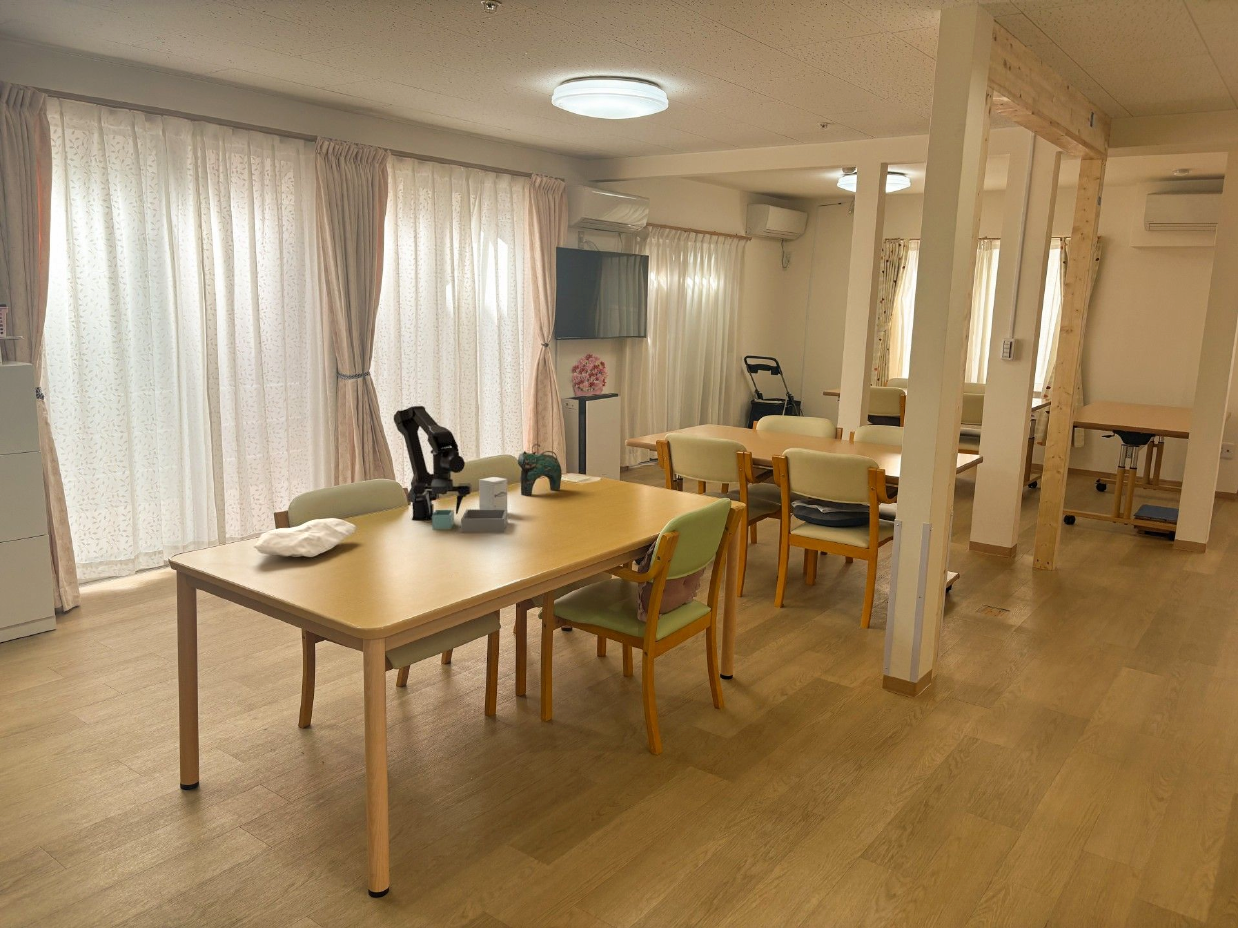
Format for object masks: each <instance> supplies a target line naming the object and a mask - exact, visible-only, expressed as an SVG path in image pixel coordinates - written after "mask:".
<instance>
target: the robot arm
mask: <svg viewBox="0 0 1238 928" xmlns="http://www.w3.org/2000/svg"><path fill="white" fill-rule="evenodd" d="M393 423H394V424H395V426H396V429H397V431H398V432H399V433H400V434H401V435H402V436H403V438H404V442H405V446H406V450H407V454H408V458H409V462H410V466H411V469H412V470H411V471H412V475H413V476H412V479H411V481H410V486H411V487H410V489H409V491H408V493H407V496H406V497H407V501H408V502H409V503H411V504H412V517H411V520H412V521H415V520H416V521H417V520H418V521H419V520H420V521H421V520H422V521H423V520H424V521H425V520H428V521H429V520H432V515H433V514H434V512H435V510H434V509H435V506H434V503H433V501H436V500H437V497H438V496H437V495H443V496H444V495H446V494H447V493H448V492H454V493H455V492H456V493H457V494H456V504H455V506H456V507H455V514H456V515H458V514H459V513H458V512H459V510H460V507H461V504H462V501H463V498H466V497H467V495H471V492H472V484H471V483H470V482H469V483H461V482H459V484H457V485H454V481H453V478H452V473H454V474H457V473H461V472H462V471H463V470H464V467H465V466H466V465H465V464H466V463H465V462H466V461H465V460H464V458H463V456H461V455H460V451H459V445H458V444H457V441H456V439H455V436H454V434H453V433H452V431H451V430H449V429H448V428H447V427H445V426H444V427H443V426H441V425H439V424H438V423H437V422H436V420H435V419H434V418H433V417H432V416H431V415H430V414H429V413H428V411H427V410H426V407H425V406H423V405H414V406H410V407H407V408H406V409H402V410H397V411H396V413H394V415H393ZM419 428H421V429H422V431H423V432H424V433H425V434H426V435H427V439H426V440H427V442H428V444H429V446H430V448H431V450H430V454H432V464H433V465H432V469H433V473H430V472H429V471H428V468H427V465H426V464H427V463H426V459H425V456H424V452H423V448H422V445H421V440H420V436H419Z"/></svg>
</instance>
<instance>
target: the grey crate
mask: <svg viewBox="0 0 1238 928" xmlns="http://www.w3.org/2000/svg"><path fill="white" fill-rule="evenodd" d="M508 520H509V519H508V508H507V509H479V508H476V509H471V508H469V509H466V510H465V511H464V513H463V515H462V517H461V519H460V523H461V524H460V528H461V533H505V531H506V529H507V524H508Z"/></svg>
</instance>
